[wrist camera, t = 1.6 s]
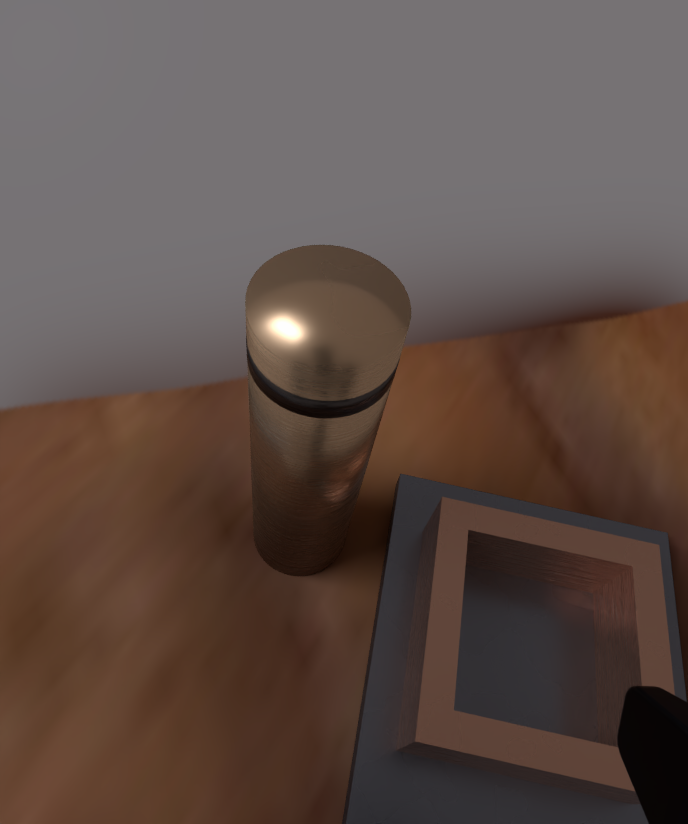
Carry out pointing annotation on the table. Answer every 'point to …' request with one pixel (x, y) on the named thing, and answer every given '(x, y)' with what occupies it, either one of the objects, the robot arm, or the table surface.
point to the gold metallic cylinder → (316, 394)
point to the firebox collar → (508, 662)
